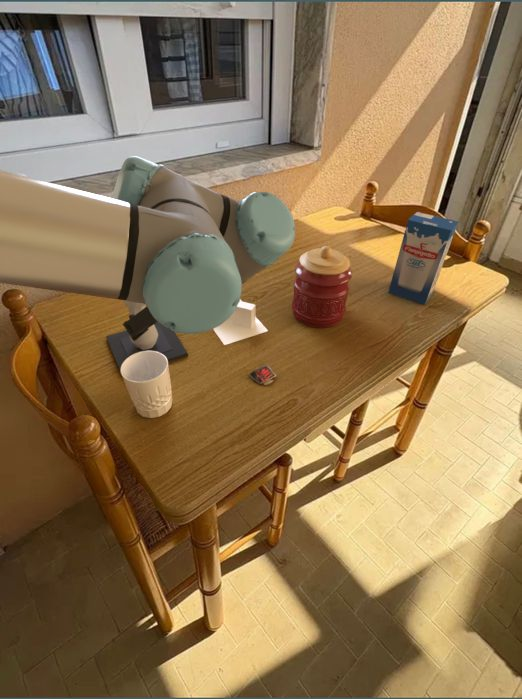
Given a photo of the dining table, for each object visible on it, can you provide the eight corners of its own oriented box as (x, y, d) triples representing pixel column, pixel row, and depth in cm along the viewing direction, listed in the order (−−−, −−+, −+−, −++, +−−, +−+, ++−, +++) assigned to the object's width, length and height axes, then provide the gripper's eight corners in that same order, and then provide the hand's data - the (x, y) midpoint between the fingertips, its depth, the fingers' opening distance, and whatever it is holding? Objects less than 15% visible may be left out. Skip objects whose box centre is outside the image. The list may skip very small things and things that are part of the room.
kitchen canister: (280, 310, 95) (284, 244, 83) (316, 292, 101) (325, 229, 90) (318, 336, 87) (328, 267, 76) (355, 315, 94) (369, 248, 82)
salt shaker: (153, 332, 86) (142, 282, 78) (163, 346, 82) (153, 295, 74) (128, 341, 84) (114, 290, 75) (137, 356, 80) (124, 304, 71)
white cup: (144, 428, 67) (133, 389, 60) (125, 401, 72) (112, 363, 65) (183, 406, 71) (176, 368, 64) (163, 383, 75) (154, 344, 69)
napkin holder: (199, 310, 94) (197, 291, 90) (240, 299, 98) (239, 279, 95) (224, 345, 84) (223, 325, 81) (269, 330, 89) (269, 310, 85)
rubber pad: (122, 377, 76) (121, 374, 76) (106, 338, 86) (105, 335, 85) (188, 355, 82) (187, 352, 81) (166, 321, 91) (166, 318, 90)
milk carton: (387, 292, 102) (407, 219, 89) (396, 282, 106) (416, 211, 93) (425, 305, 97) (451, 230, 84) (432, 294, 101) (459, 221, 88)
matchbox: (247, 376, 77) (247, 374, 77) (264, 363, 80) (264, 362, 80) (264, 388, 75) (264, 386, 74) (281, 374, 77) (281, 373, 77)
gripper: (156, 336, 47) (115, 368, 64) (280, 264, 62) (219, 305, 79) (122, 284, 46) (89, 330, 64) (256, 223, 61) (200, 274, 78)
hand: (161, 316), depth 71 cm, fingers open, 13 cm apart
